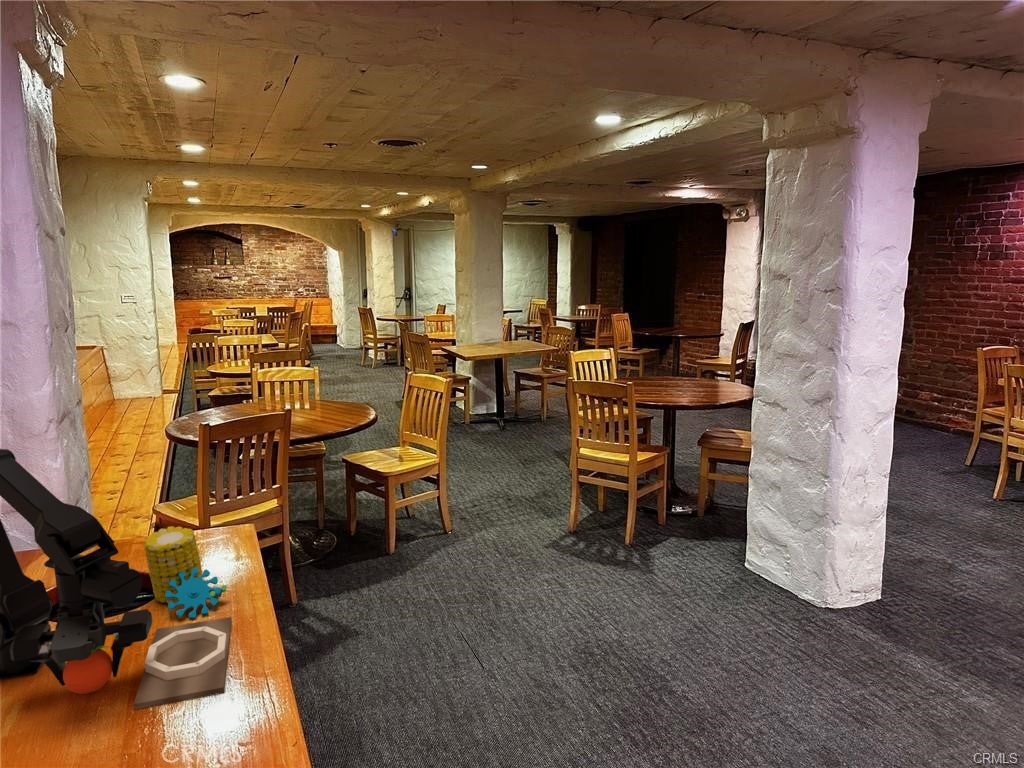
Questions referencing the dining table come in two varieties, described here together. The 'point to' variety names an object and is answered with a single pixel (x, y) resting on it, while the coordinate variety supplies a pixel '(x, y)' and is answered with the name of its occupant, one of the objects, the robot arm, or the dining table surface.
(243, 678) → the dining table surface
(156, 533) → the food
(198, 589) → the blue knobbed toy
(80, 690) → the clementine
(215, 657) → the seat ring
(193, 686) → the board
